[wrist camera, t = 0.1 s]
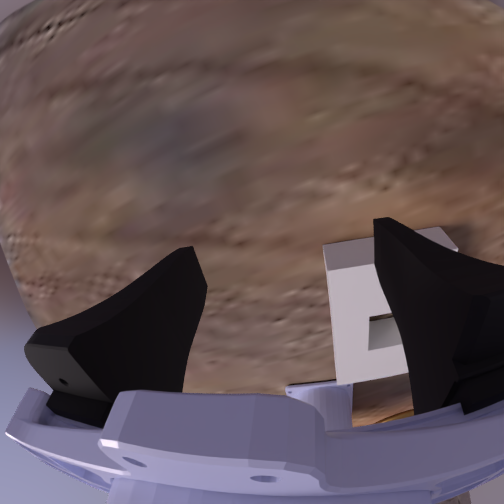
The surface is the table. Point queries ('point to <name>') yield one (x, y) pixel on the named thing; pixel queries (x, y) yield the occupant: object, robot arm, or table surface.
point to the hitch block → (364, 311)
